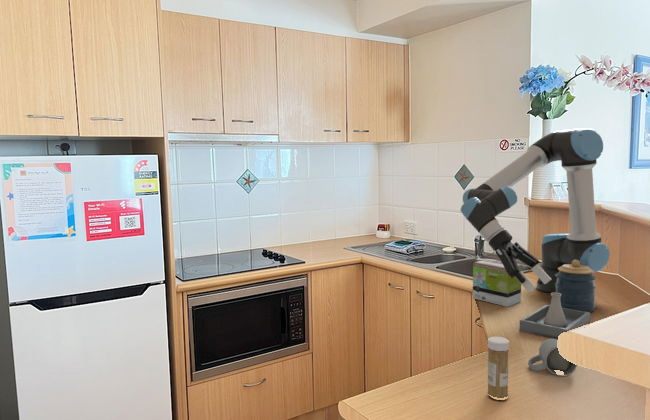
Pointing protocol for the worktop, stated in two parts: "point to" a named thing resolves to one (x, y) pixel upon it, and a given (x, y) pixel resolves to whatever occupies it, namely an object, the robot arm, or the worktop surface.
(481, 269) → the tea box
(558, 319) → the flask
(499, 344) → the sprinkles bottle
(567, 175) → the robot arm
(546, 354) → the ceramic mug
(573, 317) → the charcoal tray
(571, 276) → the canister
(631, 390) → the worktop surface
